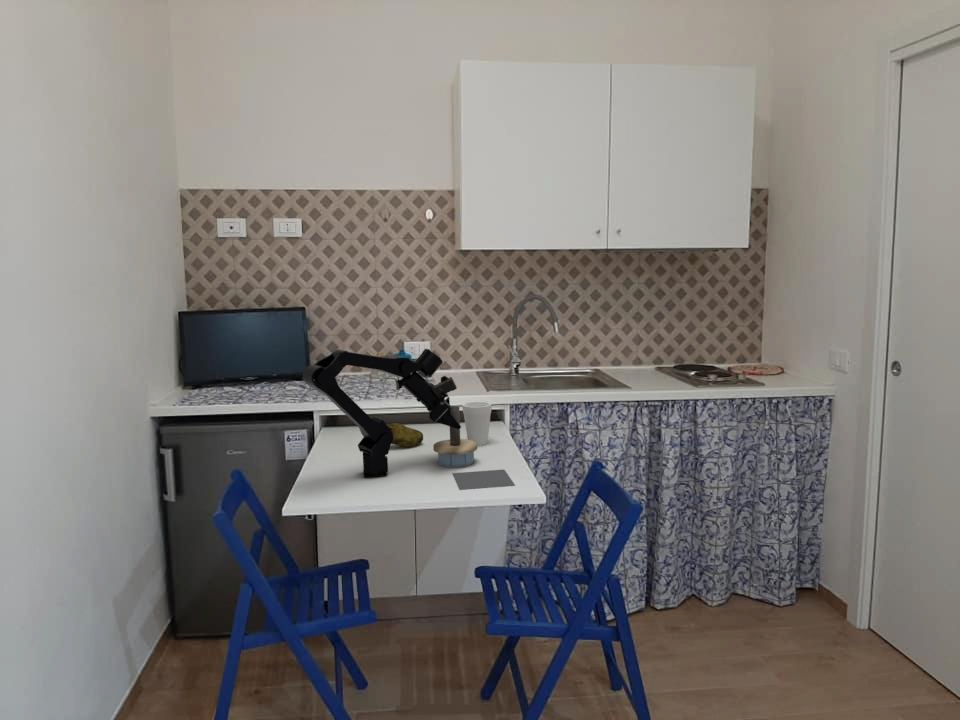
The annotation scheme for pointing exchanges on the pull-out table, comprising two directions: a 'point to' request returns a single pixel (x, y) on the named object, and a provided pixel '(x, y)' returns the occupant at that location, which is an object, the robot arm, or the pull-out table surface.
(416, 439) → the potato
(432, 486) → the pull-out table surface
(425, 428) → the pull-out table surface
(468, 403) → the foam cup
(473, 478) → the mat
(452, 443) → the paper towel holder
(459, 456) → the bowl
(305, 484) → the pull-out table surface
